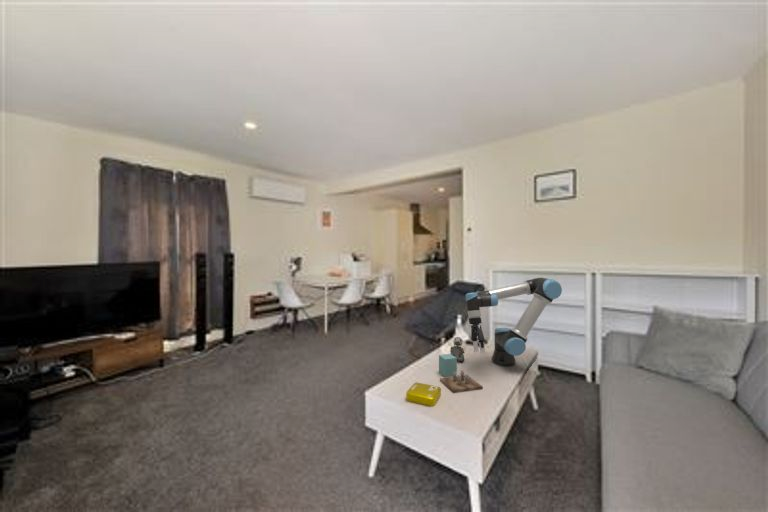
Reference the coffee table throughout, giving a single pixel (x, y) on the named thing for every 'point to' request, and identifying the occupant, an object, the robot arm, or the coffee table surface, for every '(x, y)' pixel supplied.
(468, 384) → the peg board
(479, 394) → the coffee table surface
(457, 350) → the figurine
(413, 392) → the element tile
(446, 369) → the teal block
